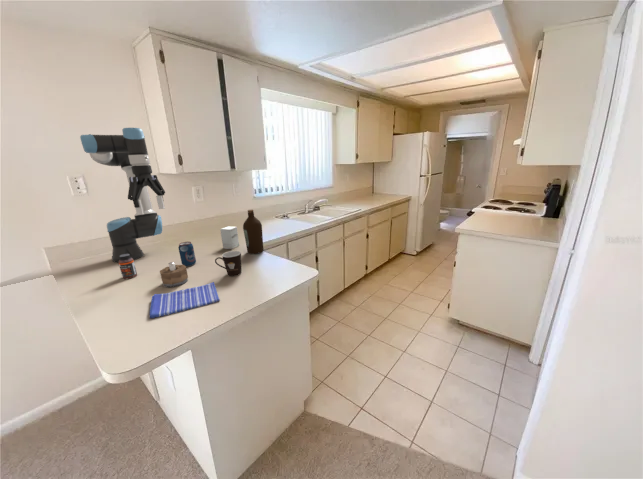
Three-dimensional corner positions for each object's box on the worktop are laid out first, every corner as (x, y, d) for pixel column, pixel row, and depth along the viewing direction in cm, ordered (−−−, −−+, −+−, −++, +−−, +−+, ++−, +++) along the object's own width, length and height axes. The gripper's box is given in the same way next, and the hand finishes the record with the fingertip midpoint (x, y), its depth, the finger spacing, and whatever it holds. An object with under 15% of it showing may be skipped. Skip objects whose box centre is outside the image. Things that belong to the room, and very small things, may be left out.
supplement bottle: (121, 280, 126) (115, 258, 122) (123, 275, 131) (117, 254, 127) (136, 277, 128) (130, 255, 125) (138, 273, 133) (132, 252, 130)
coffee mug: (247, 270, 130) (244, 251, 127) (236, 278, 122) (233, 257, 119) (227, 268, 134) (224, 249, 131) (216, 275, 126) (212, 255, 123)
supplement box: (232, 249, 163) (229, 229, 159) (222, 248, 166) (219, 229, 162) (239, 245, 170) (237, 226, 166) (230, 244, 172) (227, 226, 168)
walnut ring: (157, 284, 116) (154, 273, 115) (172, 274, 126) (170, 264, 124) (178, 284, 115) (175, 273, 114) (191, 274, 125) (189, 264, 123)
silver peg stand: (158, 287, 117) (153, 267, 114) (173, 277, 126) (168, 258, 123) (178, 287, 115) (174, 267, 113) (192, 277, 125) (188, 259, 122)
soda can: (190, 267, 138) (186, 245, 134) (179, 266, 139) (174, 245, 136) (199, 262, 144) (195, 241, 141) (188, 261, 146) (183, 241, 142)
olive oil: (262, 247, 164) (258, 207, 156) (266, 252, 154) (261, 210, 147) (245, 250, 160) (239, 209, 152) (247, 255, 150) (241, 212, 143)
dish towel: (153, 300, 107) (151, 293, 106) (215, 285, 117) (214, 279, 116) (149, 321, 92) (147, 314, 91) (220, 302, 102) (219, 296, 102)
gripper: (125, 165, 106) (138, 217, 113) (167, 163, 130) (176, 206, 136) (108, 166, 107) (122, 217, 114) (153, 164, 131) (163, 206, 137)
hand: (151, 211), depth 125 cm, fingers open, 13 cm apart
